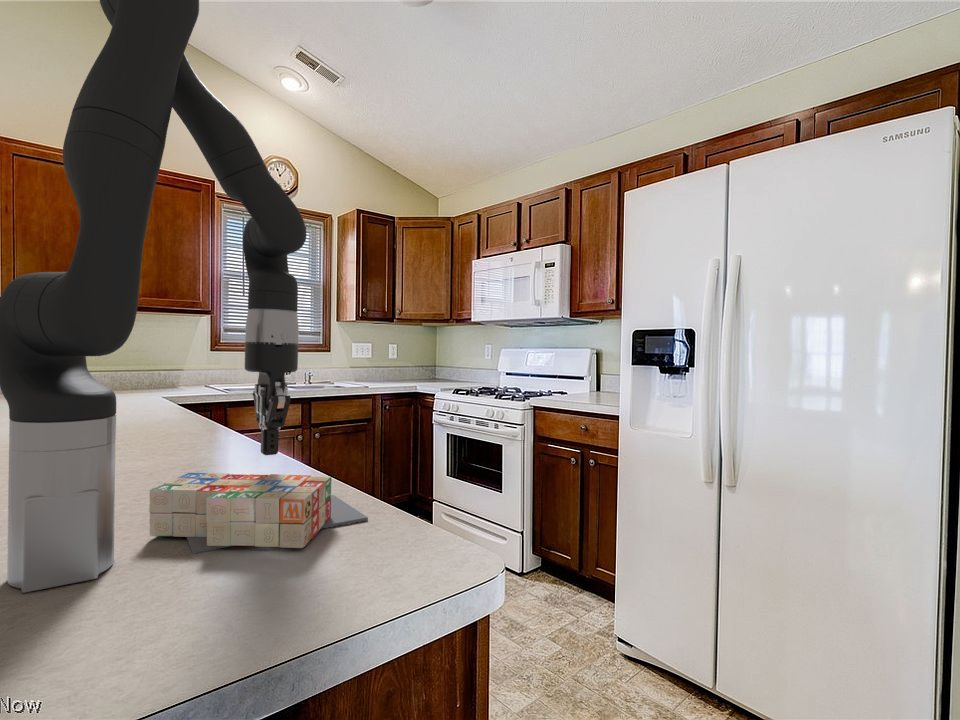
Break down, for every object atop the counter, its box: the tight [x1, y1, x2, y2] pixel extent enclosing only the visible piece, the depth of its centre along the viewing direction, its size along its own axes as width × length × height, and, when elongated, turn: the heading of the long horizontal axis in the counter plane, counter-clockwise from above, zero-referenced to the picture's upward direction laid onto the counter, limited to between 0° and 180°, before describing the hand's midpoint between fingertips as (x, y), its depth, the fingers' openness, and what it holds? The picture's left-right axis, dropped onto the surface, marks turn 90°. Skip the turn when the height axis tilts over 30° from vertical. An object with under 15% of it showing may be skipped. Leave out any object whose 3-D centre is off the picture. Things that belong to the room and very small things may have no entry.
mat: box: [185, 494, 369, 554], centre depth 76 cm, size 14×23×1 cm, turn 127°
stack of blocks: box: [148, 472, 332, 549], centre depth 70 cm, size 21×6×12 cm
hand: (269, 454), depth 78 cm, fingers closed
